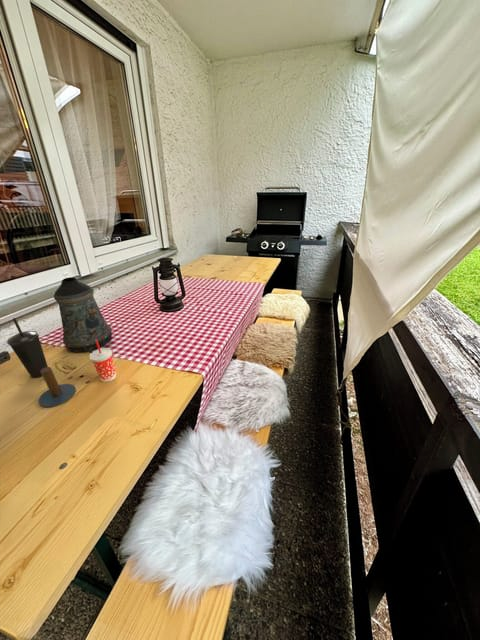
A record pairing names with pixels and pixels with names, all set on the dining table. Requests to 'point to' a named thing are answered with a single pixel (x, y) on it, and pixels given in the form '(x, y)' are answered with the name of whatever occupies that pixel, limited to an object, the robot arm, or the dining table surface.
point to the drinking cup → (28, 350)
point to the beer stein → (81, 317)
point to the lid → (55, 390)
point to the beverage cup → (103, 363)
